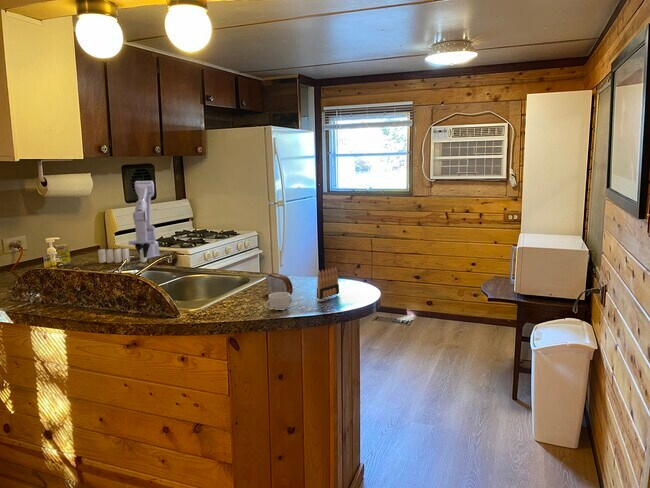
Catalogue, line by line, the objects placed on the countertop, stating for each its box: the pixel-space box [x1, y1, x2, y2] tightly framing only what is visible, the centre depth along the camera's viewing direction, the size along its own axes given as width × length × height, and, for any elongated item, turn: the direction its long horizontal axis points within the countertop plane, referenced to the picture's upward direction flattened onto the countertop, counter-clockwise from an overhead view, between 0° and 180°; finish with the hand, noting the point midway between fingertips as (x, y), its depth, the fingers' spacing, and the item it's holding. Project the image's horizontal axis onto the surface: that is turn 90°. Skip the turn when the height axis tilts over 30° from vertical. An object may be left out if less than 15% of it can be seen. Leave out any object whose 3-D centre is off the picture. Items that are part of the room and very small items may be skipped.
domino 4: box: [121, 248, 131, 263], centre depth 270 cm, size 2×5×7 cm, turn 177°
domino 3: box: [113, 248, 123, 264], centre depth 270 cm, size 2×5×7 cm, turn 177°
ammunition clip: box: [316, 265, 340, 299], centre depth 187 cm, size 11×2×12 cm, turn 136°
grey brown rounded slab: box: [265, 272, 294, 296], centre depth 193 cm, size 15×3×8 cm, turn 41°
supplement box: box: [52, 243, 72, 267], centre depth 264 cm, size 6×6×11 cm
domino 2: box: [105, 248, 115, 264], centre depth 270 cm, size 2×5×7 cm, turn 178°
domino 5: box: [139, 249, 148, 263], centre depth 269 cm, size 2×5×7 cm, turn 177°
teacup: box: [265, 292, 291, 310], centre depth 174 cm, size 10×8×5 cm
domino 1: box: [97, 248, 107, 264], centre depth 270 cm, size 2×5×7 cm, turn 177°
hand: (143, 257), depth 269 cm, fingers closed on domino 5, 2 cm apart
